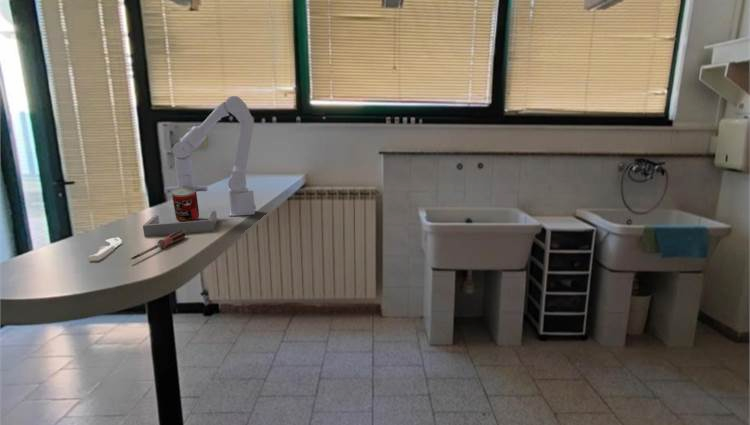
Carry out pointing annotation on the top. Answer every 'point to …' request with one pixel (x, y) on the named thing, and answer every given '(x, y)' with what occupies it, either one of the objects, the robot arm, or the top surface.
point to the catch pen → (178, 226)
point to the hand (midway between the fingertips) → (188, 210)
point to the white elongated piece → (106, 249)
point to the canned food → (185, 204)
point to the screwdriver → (165, 242)
